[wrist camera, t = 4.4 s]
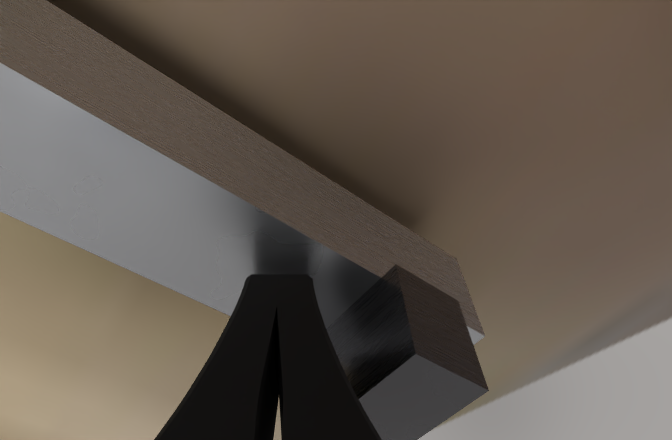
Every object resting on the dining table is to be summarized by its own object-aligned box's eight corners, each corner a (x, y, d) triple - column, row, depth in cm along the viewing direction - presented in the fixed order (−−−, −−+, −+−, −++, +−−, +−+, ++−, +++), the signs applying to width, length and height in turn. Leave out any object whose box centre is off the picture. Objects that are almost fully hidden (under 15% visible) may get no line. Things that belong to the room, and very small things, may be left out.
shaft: (468, 248, 15) (536, 414, 11) (381, 325, 17) (408, 494, 13) (-398, -316, 8) (-1327, -523, 3) (-395, -76, 10) (-1000, -2, 5)
